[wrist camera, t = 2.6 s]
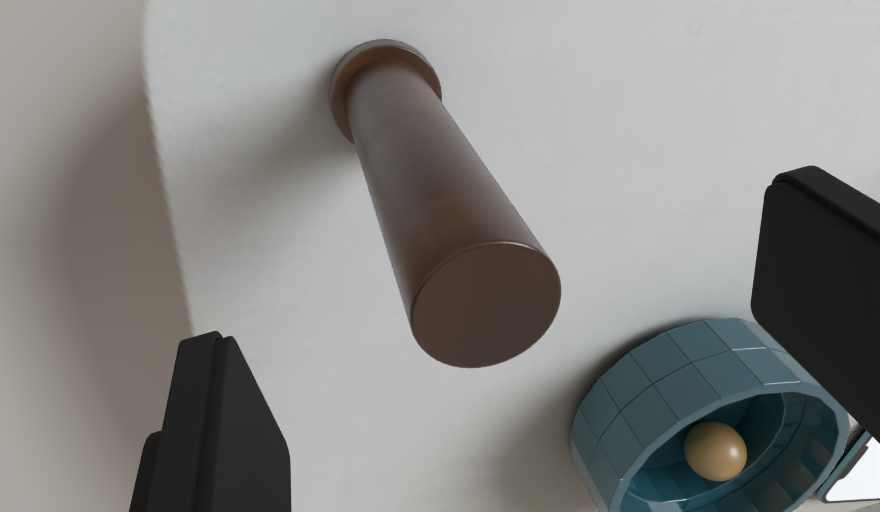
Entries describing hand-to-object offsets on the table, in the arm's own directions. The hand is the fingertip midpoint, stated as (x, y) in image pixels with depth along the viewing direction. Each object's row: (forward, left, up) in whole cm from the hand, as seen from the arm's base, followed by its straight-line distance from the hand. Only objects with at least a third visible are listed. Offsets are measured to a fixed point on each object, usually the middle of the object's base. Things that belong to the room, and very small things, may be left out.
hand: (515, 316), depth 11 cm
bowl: (+11, -20, -12) cm, 26 cm away
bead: (+12, -22, -10) cm, 27 cm away
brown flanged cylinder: (0, 0, -12) cm, 12 cm away
